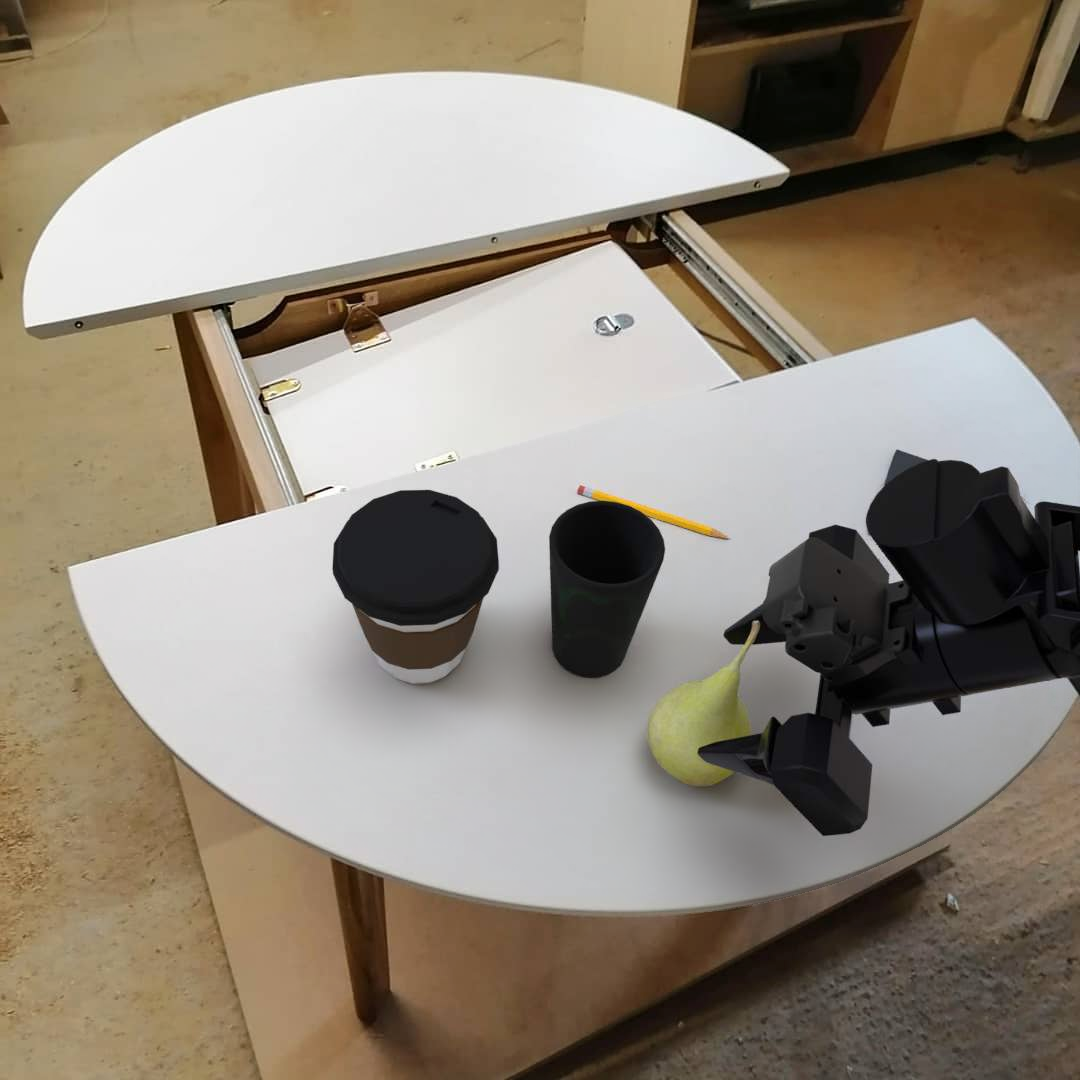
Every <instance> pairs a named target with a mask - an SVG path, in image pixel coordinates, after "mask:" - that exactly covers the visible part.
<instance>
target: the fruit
mask: <svg viewBox="0 0 1080 1080" xmlns="http://www.w3.org/2000/svg"><path fill="white" fill-rule="evenodd" d="M759 629H760V622H759V621H753V622H752V630H751V633H750V635H749V637H748V639H747V641H746V643H745V645H742V648H741V650H739V652H738V654H737V656H736V657H735V658H734V659H733V661H732V662H730V663H728V664H727V665H724V666H723V667H721V668H720V669H719V670H717V671H716V672H715V673H713V674H711V675H710V676H708V677H707V678H705V679H704V680H693V681H688V682H685V683H682V684H680V685H678V686H676V687H675V688H673V689H671V690H670V691H668V692H667V693H666V694H665V695H664V696H662V697H661V698H660V699H659V700H658V701H657V702H656V704H655V705H654V706H653V708H652V709H651V711H650V714H649V718H648V722H647V727H646V736H647V742H648V747H649V749H650V751H651V754H652V755H653V757H654V759H655V760H656V762H657V763H658V765H659V766H660V767H661V768H662V770H664V771H665V772H666V773H668V774H669V775H670V776H671V777H673V778H675V779H676V780H678V781H679V782H681V783H684V784H687V785H688V786H693V787H709V786H713V785H715V784H716V785H717V783H720V782H722V781H724V780H725V779H726V778H728V777H730V776H731V775H733V774H734V773H735V772H734V771H731V770H728V769H725V768H722V767H719V766H716V765H712V764H709V763H707V762H705V761H704V760H703V759H702V758H701V757H700V756H699V755H698V754H697V752H698V748H699V747H702V746H705V745H708V744H711V743H714V742H718V741H723V740H728V739H733V738H739V737H744V736H749V735H752V726H751V721H750V717H749V714H748V711H747V709H746V708H747V707H746V706H745V704H744V703H743V700H742V699H741V698H740V696H739V687H740V681H741V666H742V665H741V664H742V662H743V661H744V659H745V657H746V656H747V653H748V651H749V650H750V648H751V646H753V645H752V643H753V642H754V640H755V638H756V636H757V633H758V632H759Z"/></svg>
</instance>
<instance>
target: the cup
mask: <svg viewBox="0 0 1080 1080" xmlns="http://www.w3.org/2000/svg"><path fill="white" fill-rule="evenodd" d="M548 541H549V543H548V544H549V547H548V548H549V579H550V580H549V581H550V585H549V586H550V617H551V618H550V619H551V620H550V621H551V650H552V654H553V657H554V658H555V660H556V661H557V663H558V664H559V665H560V666H561V667H562V668H563V669H564V670H565V671H567V672H568V673H570V674H572V675H575V676H577V677H579V678H580V677H581V678H586V679H597V678H602V677H606V676H608V675H610V674H612V673H613V672H615V671H616V670H618V668H619V667H621V665H622V663H623V661H624V660H625V659H626V658H625V657H626V655H627V653H628V650H629V647H630V645H631V642H632V640H633V637H634V635H635V632H636V630H637V628H638V625H639V622H640V620H641V617H642V615H643V613H644V610H645V608H646V605H647V602H648V600H649V598H650V595H651V592H652V590H653V587H654V586H655V585H654V584H655V583H656V581H657V580H656V579H657V578H658V575H659V572H660V570H661V567H662V565H663V562H664V558H665V554H666V546H665V539H664V537H663V535H662V532H661V529H660V528H659V527H658V526H657V525H656V523H655V522H654V521H653V520H652V518H651V517H649V516H646V515H645V514H643V513H642V512H640V511H638V510H637V509H635V508H633V507H631V506H628V505H625V504H621V503H618V502H611V501H600V500H591V501H587V502H582V503H579V504H576V505H574V506H572V507H570V508H568V509H565V511H564V512H563V513H561V514H560V515H559V516H558V517H557V518H556V520H555V521H554V523H553V524H552V526H551V529H550V533H549V535H548Z"/></svg>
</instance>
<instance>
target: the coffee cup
mask: <svg viewBox="0 0 1080 1080" xmlns="http://www.w3.org/2000/svg"><path fill="white" fill-rule="evenodd" d="M498 547H499V546H498V539H497V537H496V535H495V534H494V532H493V531H492V529H491V528H490V525H488V523H487V521H486V520H485V518H484V517H483V516H482V515H481V514H480V512H479V511H477V509H475V508H473V507H472V506H471V505H469V504H468V503H466V502H465V501H463V500H462V499H460V498H459V497H457V496H454V495H451V494H446V493H444V492H438V491H436V490H432V489H402V490H401V489H400V490H397V491H394V492H391V493H387V494H385V495H381V496H378V497H376V498H372V499H371V500H370V501H368V502H367V503H366V504H364V505H363V506H361V507H360V508H359V509H358V510H356V511H355V512H354V513H351V515H350V516H349V518H348V519H347V521H346V522H345V523H344V526H343V527H342V529H341V531H340V532H339V534H338V535H337V537H336V539H335V540H334V542H333V549H332V550H333V552H332V575H333V577H334V580H335V581H336V583H337V586H338V587H339V590H340V592H341V594H342V595H343V598H344V599H345V600H346V601H348V602H349V603H350V604H351V605H352V607H353V610H354V613H355V615H356V617H357V620H358V622H359V625H360V628H361V631H362V633H363V635H364V637H365V639H366V642H367V643H368V646H369V648H370V649H371V651H372V652H373V654H374V656H375V658H376V660H377V662H378V664H379V666H380V667H381V668H382V669H383V670H384V671H386V672H387V673H388V674H390V676H392V677H393V678H395V679H396V680H397V681H402V682H405V683H409V684H411V685H417V684H419V685H420V684H421V685H422V684H431V683H434V682H436V681H438V680H441V679H443V678H445V677H446V676H447V675H449V674H450V673H451V672H452V671H453V670H454V669H455V668H456V667H457V666H459V664H460V663H461V661H462V659H463V656H464V654H465V652H466V650H467V647H468V645H469V643H470V640H471V638H472V636H473V634H474V631H475V628H476V625H477V621H478V618H479V615H480V611H481V608H482V604H483V601H484V598H485V597H486V596H487V595H488V594H489V593H490V590H491V588H492V586H493V583H494V581H495V579H496V576H497V574H498V572H499V569H500V564H499V563H500V561H499V548H498Z"/></svg>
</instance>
